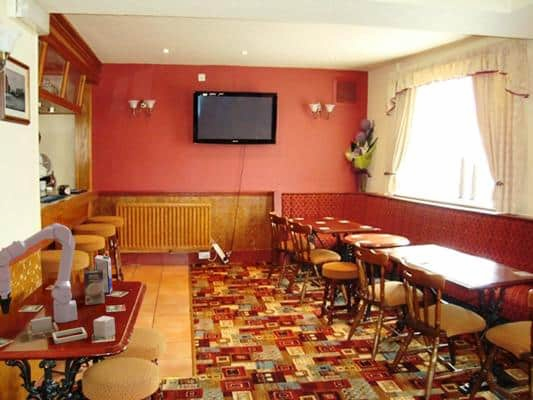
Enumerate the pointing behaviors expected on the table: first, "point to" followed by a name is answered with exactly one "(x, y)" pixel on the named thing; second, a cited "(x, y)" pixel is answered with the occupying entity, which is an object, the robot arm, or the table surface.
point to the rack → (43, 332)
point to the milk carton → (105, 271)
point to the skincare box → (104, 326)
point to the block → (41, 325)
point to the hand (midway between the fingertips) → (5, 311)
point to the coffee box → (94, 287)
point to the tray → (71, 338)
